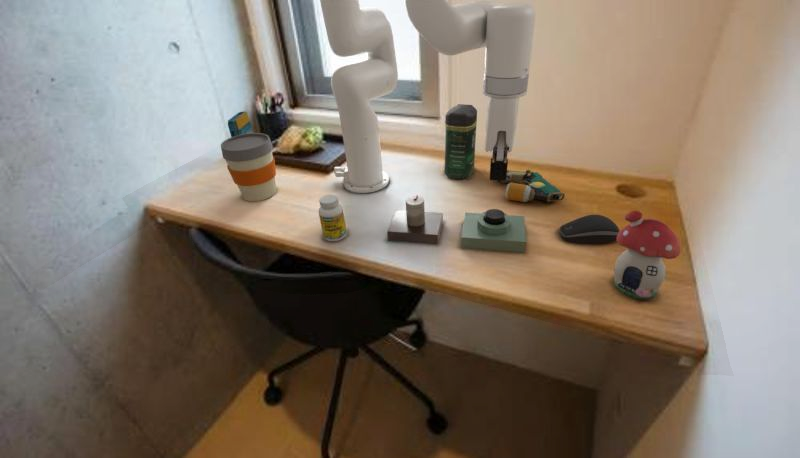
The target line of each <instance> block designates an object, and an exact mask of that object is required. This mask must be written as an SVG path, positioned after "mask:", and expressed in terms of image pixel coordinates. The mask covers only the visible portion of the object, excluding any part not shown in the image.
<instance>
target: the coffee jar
mask: <svg viewBox="0 0 800 458" xmlns="http://www.w3.org/2000/svg"><path fill="white" fill-rule="evenodd" d="M444 118H445V119H444V127H445V128H444V129H445V136H444V137H445V138H444V140H445V142H444V144H445V145H444V175H445V176H447V177H449V178H452V179H456V180H459V179H467V178H469V177H470V176H471V175H472V174H473V172H474V170H475V157H476V139H477V138H476V136H477V125H478V109H477V108H476V107H474V105H473V104H464V103H458V104H457V105H455V106H452V107H451V108H450V109H449V110H448V111H447V112H446V114H445V117H444Z"/></svg>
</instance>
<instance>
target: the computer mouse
mask: <svg viewBox="0 0 800 458" xmlns="http://www.w3.org/2000/svg"><path fill="white" fill-rule="evenodd" d="M620 231H621V229H620V228H619V227H618V225H617V224H616V223H615V222H614V220H612V219H610V218H609V217H607V216H605V215H602V214H587V215H584V216H581V217H579V218H576V219H574V220H571V221H569V222H567V223H564V224H562V225H561V226H559V231H558V232H559V235H560V237H561V238H562V240H564V241H565V242H567V243H573V244H588V245H603V244H604V245H605V244H611V243H613V242H617V235H618V233H619V232H620Z"/></svg>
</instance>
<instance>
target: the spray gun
mask: <svg viewBox="0 0 800 458" xmlns="http://www.w3.org/2000/svg"><path fill="white" fill-rule="evenodd" d="M497 182H498V183H502V184H505V183H507V185H506V189H505V194H504V195H505V196H504V197H505V198H506V199H507V200H508V201H516V202H520V203H527V202H528V201H529V202H531V201H533V200H534V199H536V200H541V201H545V202H547V203H550V202H557V201H563V200H564V198H565V193H564V192H561V190H559V189H558V188H557V187H556V185H552V184H551V183H550V182H548V181H547V180H546V179H545V178H544V177H543V176H542V174H541V173H539V172H537V171H532V170H530V169H529V168H527V169H526V170H525V171H519V170H509V169H507V176H506V180H505V181H497Z"/></svg>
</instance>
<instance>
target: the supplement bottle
mask: <svg viewBox="0 0 800 458" xmlns="http://www.w3.org/2000/svg"><path fill="white" fill-rule="evenodd" d="M339 202H340V201H339V196H338V195H336V194H332V193H330V194H325V195H323V196H320V198H319V206H320V207H319V208H318V217H319V221H320V227H321V231H322V235H323V239H324V240H326V241H328V242H338V241H341V240H343V239H344V238H345V237H346V236H347V233H348V231H347V224H346V218H345V212H344V207H343V205H342V204H340V203H339Z"/></svg>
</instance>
